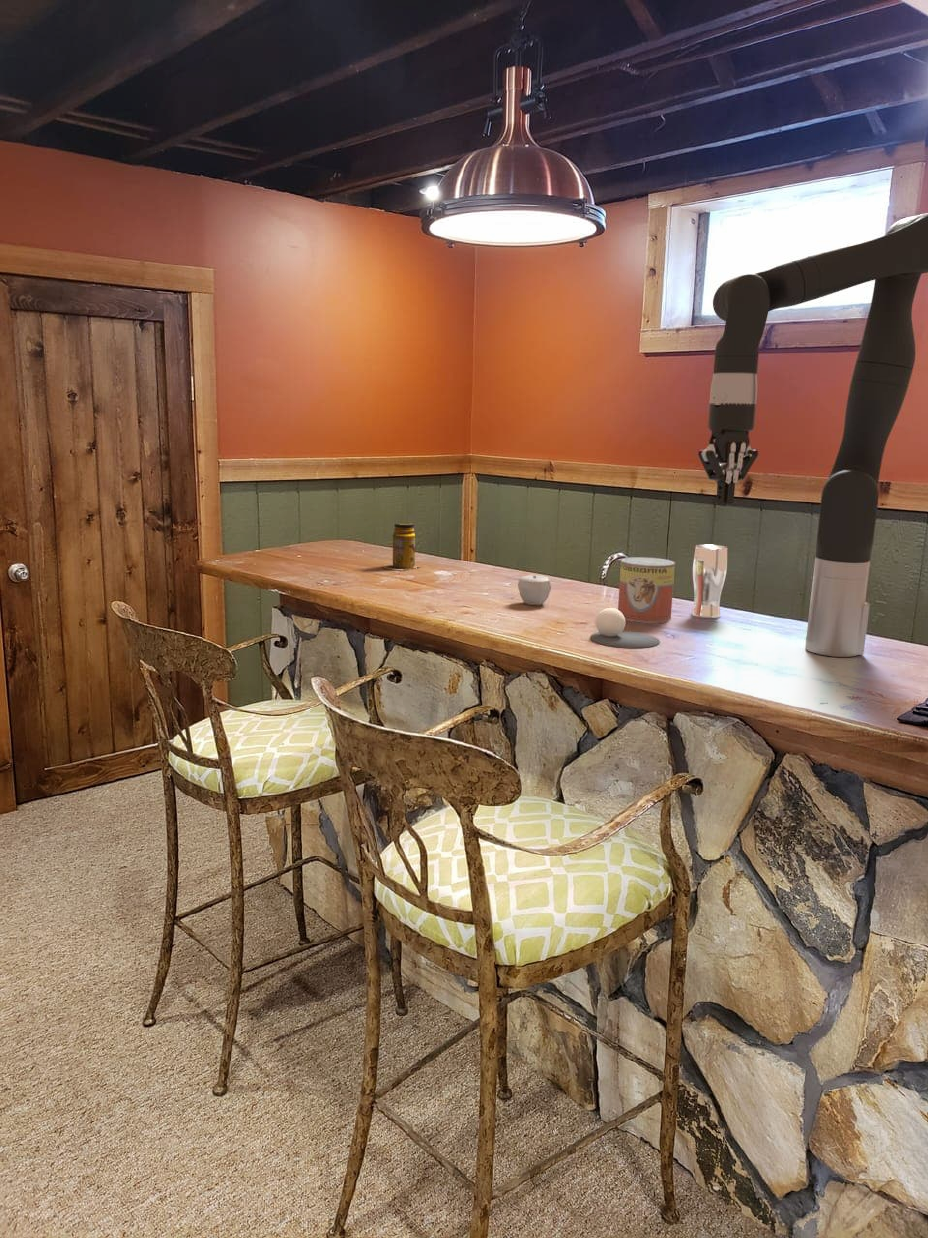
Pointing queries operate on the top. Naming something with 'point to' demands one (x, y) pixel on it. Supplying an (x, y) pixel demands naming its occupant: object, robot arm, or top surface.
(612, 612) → the ball
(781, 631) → the top surface
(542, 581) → the apple
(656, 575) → the canned food
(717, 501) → the robot arm
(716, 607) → the beer glass
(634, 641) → the disc
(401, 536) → the condiment
